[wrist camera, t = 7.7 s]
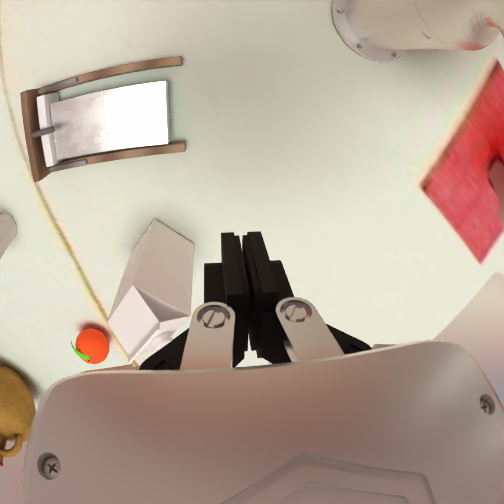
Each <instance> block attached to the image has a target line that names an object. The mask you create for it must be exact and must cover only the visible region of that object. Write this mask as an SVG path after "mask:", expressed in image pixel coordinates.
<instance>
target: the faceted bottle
mask: <svg viewBox="0 0 504 504" xmlns="http://www.w3.org/2000/svg"><path fill="white" fill-rule="evenodd" d="M16 233H17V231H16V223H15V221H14V219H13V217H12V216H11V215H10V214H7V213H2V214H1V215H0V259H1V257H2V255H3V254H4V252H5V251H6V249H7V247H8V246H9V244H10V243H11V241H12V240H13V238H14V236H15V235H16Z"/></svg>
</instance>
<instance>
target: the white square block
mask: <svg viewBox="0 0 504 504" xmlns="http://www.w3.org/2000/svg"><path fill="white" fill-rule="evenodd" d="M50 109H51V119H52V126H54V127H55V131H54V132H53V137H54V144H55V151H56V157H57V160H60V159H65V158H70V157H75V156H80V155H86V154H92V153H98V152H104V151H108V148H107V139H106V128H105V117H104V103H103V91H99V92H95V93H90V94H86V95H82V96H77V97H73V98H70V99H66V100H62V101H59V102H55V103H52V104H50Z"/></svg>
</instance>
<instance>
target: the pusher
mask: <svg viewBox="0 0 504 504" xmlns="http://www.w3.org/2000/svg"><path fill="white" fill-rule="evenodd" d="M55 102H59V92H58V93H52V94H46V95H42V96H39V97H37V106H38V116H39V124H40V130H41V129H44V128H48V127H51V126H52V119H51V109H50V104H52V103H55ZM41 138H42V144H43V150H44V156H45V161H46V166H47V167H49V166H53V165H55V164H57V163H58V162H60V161H61V160H63V159H60V160H57V157H56V151H55V144H54V137H53V133H49V134H46V135H43V136H41Z"/></svg>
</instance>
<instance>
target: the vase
mask: <svg viewBox="0 0 504 504" xmlns="http://www.w3.org/2000/svg"><path fill="white" fill-rule="evenodd" d="M35 413H36V410H35V405H34V401H33V398H32V395H31V393H30V391H29V390H28V388H27V386H26V384H25V382H24V380H23V378H22V377H21V376H20V375H19V374H18V373H17V372H16V371H14V370H13V369H11V368H9V367H6V366H2V367H0V466H3V463H2V461H3V456H4V457H13V456H15V455H16V454H18V453H19V451H20V450H21V447H22V443H23V441H27V440H28V438H29V434H30V430H31V426H32V422H33V419H34V416H35ZM7 440H9V441H14V442H15V445H14V446H13V447H12V448H11V449H9V450H5V446H6V441H7Z"/></svg>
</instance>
